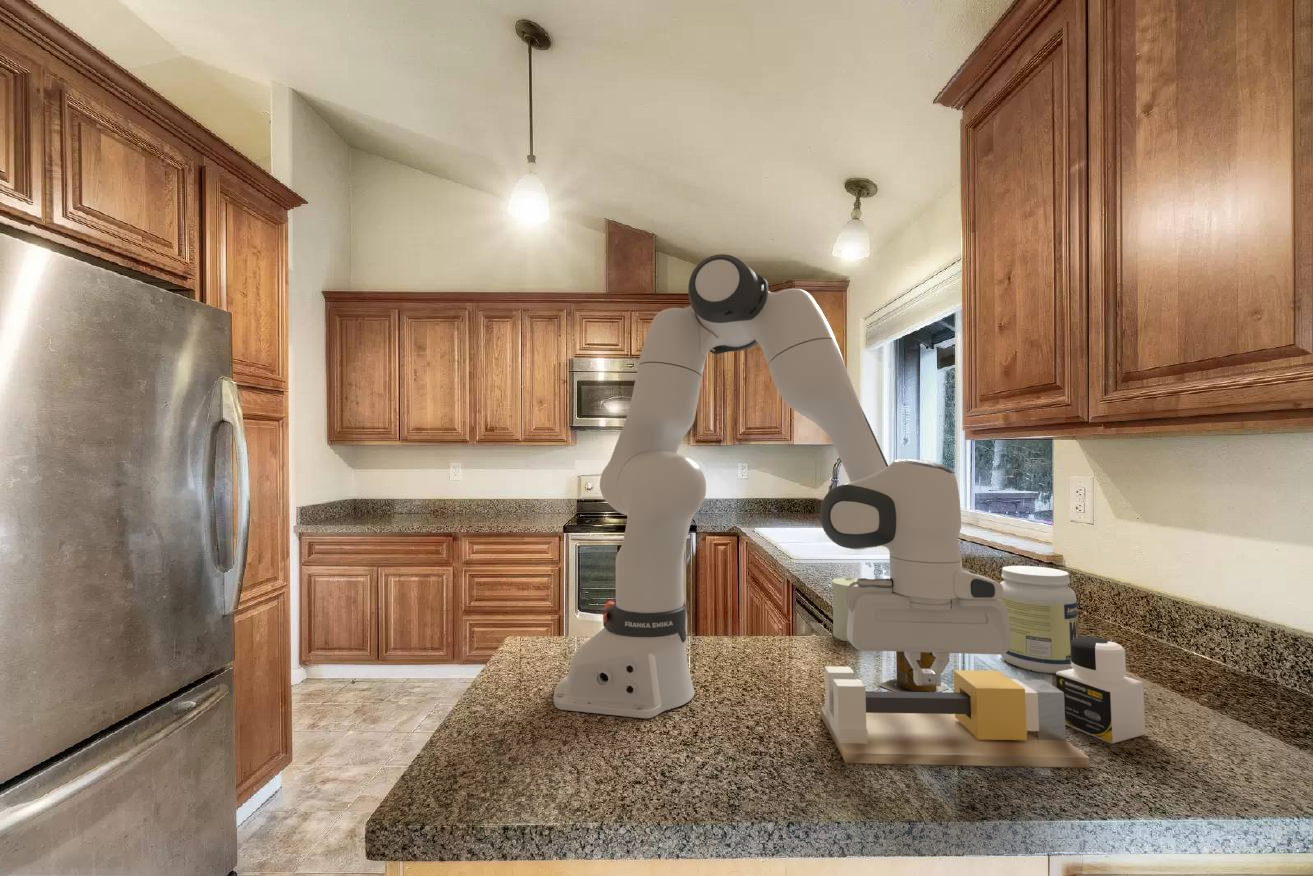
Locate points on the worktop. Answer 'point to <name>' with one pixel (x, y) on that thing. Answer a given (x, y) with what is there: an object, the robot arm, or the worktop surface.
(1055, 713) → the block
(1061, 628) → the supplement tub
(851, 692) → the white bar support
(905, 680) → the condiment
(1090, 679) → the medicine bottle
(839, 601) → the can
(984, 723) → the sleeve
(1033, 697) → the white rectangular block
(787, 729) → the worktop surface
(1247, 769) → the worktop surface
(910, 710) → the dark gray bar
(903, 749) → the board
